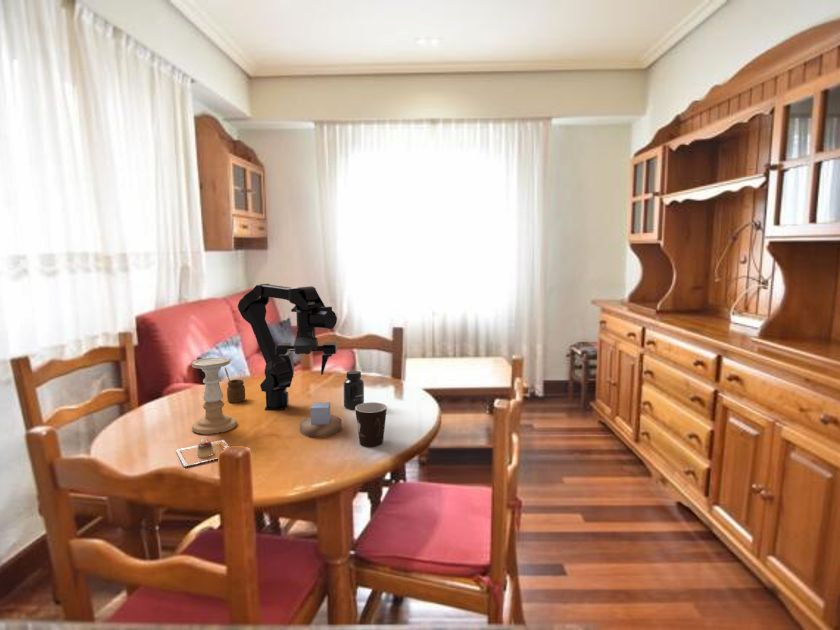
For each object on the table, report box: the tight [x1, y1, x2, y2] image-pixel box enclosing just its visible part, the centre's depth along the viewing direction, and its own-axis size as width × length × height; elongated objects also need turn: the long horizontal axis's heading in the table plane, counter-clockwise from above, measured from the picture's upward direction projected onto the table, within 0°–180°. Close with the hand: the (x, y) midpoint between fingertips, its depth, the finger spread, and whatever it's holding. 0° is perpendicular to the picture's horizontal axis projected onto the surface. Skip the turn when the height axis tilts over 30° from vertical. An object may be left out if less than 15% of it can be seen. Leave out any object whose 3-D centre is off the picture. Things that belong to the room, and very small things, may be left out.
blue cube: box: [310, 401, 332, 425], centre depth 139 cm, size 5×5×5 cm
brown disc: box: [299, 414, 343, 438], centre depth 139 cm, size 12×12×2 cm
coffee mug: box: [354, 401, 388, 448], centre depth 128 cm, size 12×9×10 cm
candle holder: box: [191, 356, 238, 435], centre depth 140 cm, size 12×12×20 cm
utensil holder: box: [224, 366, 246, 404], centre depth 167 cm, size 6×6×12 cm
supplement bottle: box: [343, 370, 365, 410], centre depth 160 cm, size 7×7×12 cm
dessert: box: [175, 437, 230, 468], centre depth 122 cm, size 12×12×5 cm
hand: (307, 374), depth 151 cm, fingers open, 9 cm apart
